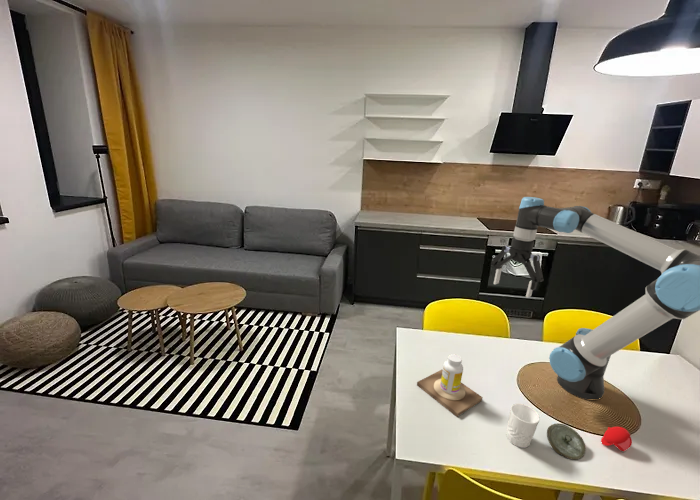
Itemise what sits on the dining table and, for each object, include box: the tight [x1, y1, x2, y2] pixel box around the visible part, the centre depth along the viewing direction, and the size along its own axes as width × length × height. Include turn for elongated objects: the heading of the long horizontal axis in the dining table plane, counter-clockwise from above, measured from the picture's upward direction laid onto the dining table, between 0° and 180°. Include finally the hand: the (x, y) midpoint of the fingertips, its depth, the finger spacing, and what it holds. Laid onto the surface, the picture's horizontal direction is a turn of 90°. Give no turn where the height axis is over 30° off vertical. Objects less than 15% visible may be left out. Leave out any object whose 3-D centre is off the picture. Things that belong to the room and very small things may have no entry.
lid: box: [546, 423, 587, 461], centre depth 106 cm, size 11×10×5 cm
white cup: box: [505, 403, 541, 449], centre depth 107 cm, size 8×8×10 cm
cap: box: [600, 426, 633, 453], centre depth 108 cm, size 8×6×6 cm
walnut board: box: [416, 369, 483, 418], centre depth 126 cm, size 18×14×2 cm
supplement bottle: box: [440, 353, 464, 394], centre depth 123 cm, size 7×7×13 cm
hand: (511, 289), depth 138 cm, fingers open, 13 cm apart
